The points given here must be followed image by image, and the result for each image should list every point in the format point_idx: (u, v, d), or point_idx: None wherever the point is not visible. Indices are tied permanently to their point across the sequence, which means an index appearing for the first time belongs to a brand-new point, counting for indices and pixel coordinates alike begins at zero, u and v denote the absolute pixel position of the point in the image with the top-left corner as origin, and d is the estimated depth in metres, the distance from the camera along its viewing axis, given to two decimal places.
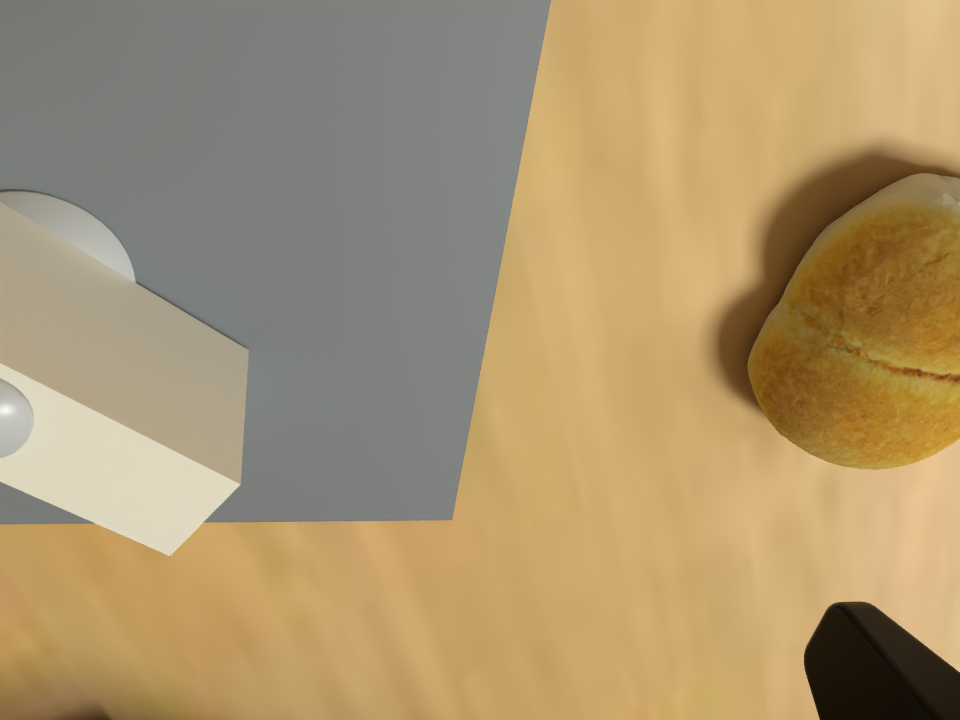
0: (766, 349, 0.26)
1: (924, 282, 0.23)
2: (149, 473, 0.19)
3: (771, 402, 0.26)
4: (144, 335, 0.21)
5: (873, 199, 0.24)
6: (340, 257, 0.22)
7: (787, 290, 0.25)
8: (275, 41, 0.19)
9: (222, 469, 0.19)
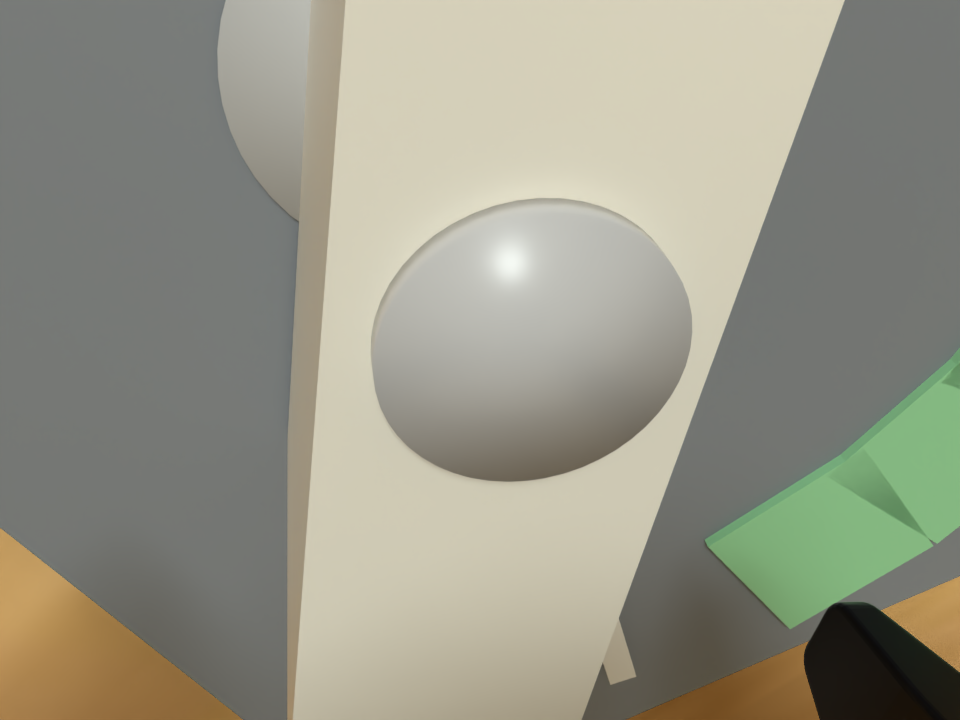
0: None
1: None
2: None
3: None
4: None
5: None
6: None
7: None
8: None
9: None
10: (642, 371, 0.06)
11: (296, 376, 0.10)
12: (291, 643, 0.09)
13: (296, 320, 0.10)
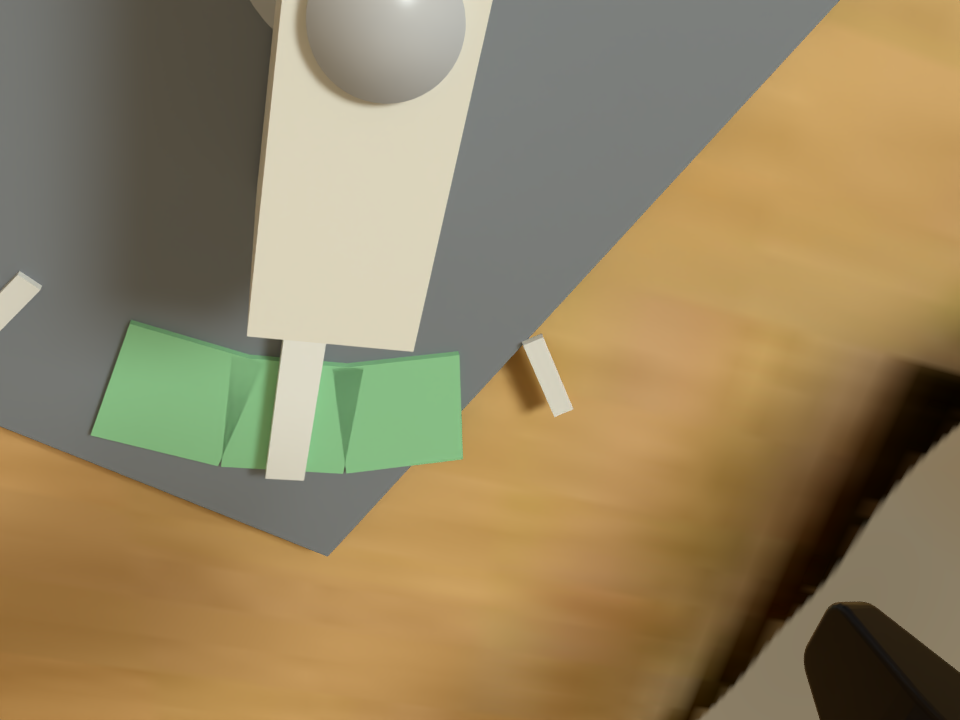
0: None
1: None
2: None
3: None
4: None
5: None
6: None
7: None
8: None
9: None
10: (442, 40, 0.12)
11: None
12: (254, 253, 0.14)
13: (267, 88, 0.16)
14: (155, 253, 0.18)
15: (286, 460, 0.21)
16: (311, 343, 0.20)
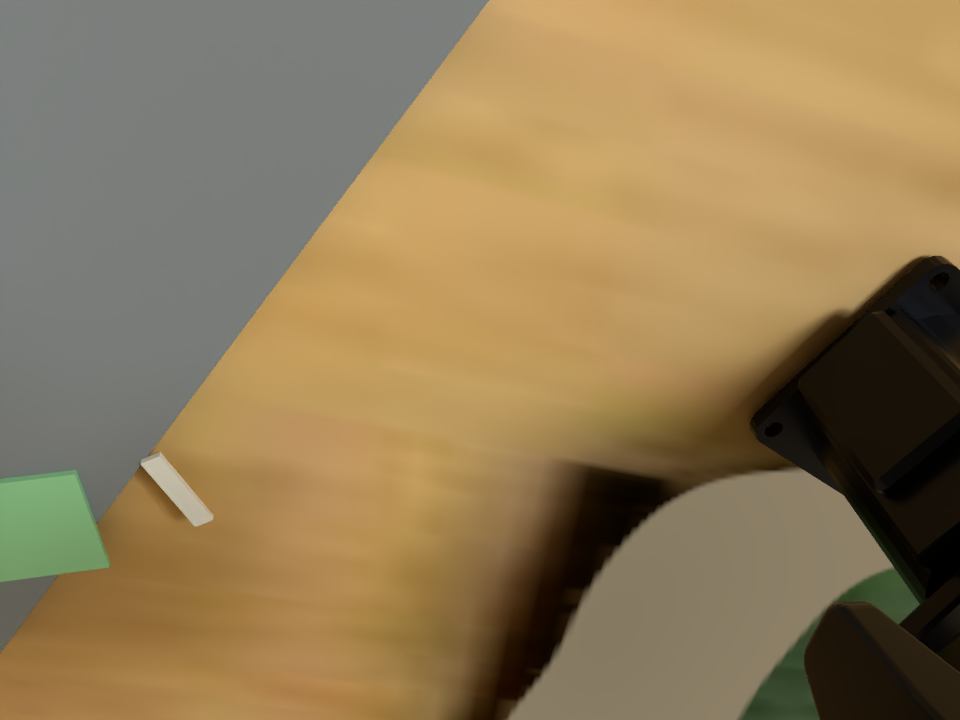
0: None
1: None
2: None
3: None
4: None
5: None
6: None
7: None
8: None
9: None
10: None
11: None
12: None
13: None
14: None
15: None
16: None
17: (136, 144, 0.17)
